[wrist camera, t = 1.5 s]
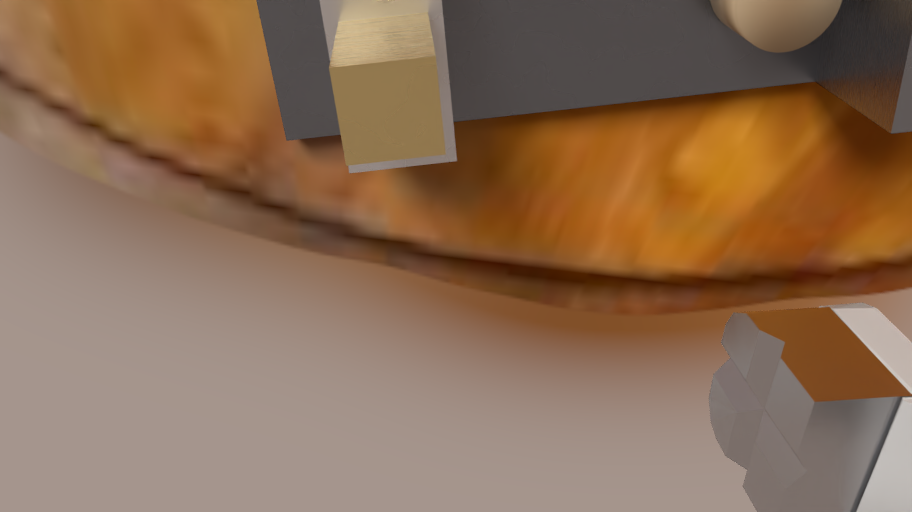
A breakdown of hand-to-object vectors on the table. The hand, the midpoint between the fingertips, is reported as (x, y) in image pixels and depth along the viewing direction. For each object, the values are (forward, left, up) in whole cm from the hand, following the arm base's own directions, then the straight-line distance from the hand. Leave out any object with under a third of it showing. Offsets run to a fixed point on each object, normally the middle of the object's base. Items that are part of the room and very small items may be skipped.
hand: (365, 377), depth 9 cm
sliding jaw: (0, +3, -25) cm, 25 cm away
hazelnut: (-15, +3, -25) cm, 29 cm away
